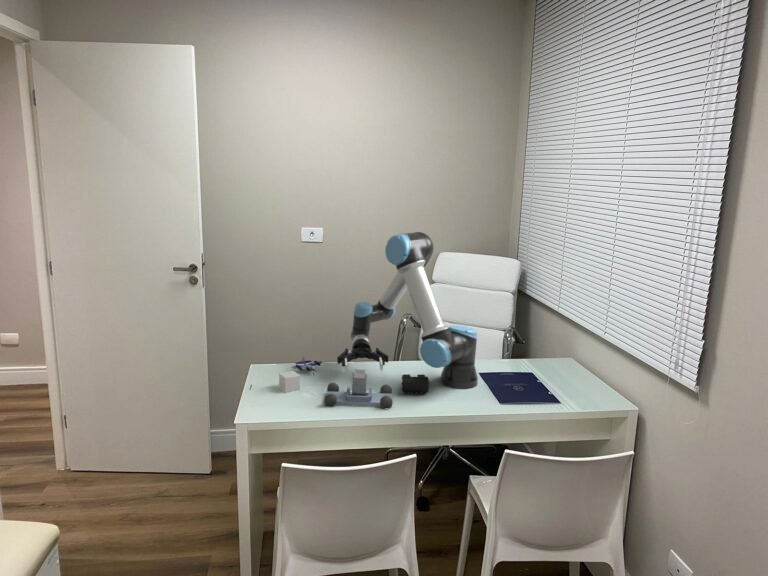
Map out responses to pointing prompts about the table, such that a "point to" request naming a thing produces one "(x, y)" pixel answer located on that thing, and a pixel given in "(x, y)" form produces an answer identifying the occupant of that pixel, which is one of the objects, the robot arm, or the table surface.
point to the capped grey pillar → (359, 382)
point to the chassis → (358, 397)
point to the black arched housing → (415, 384)
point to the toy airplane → (307, 365)
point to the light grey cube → (289, 381)
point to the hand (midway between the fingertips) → (364, 367)
